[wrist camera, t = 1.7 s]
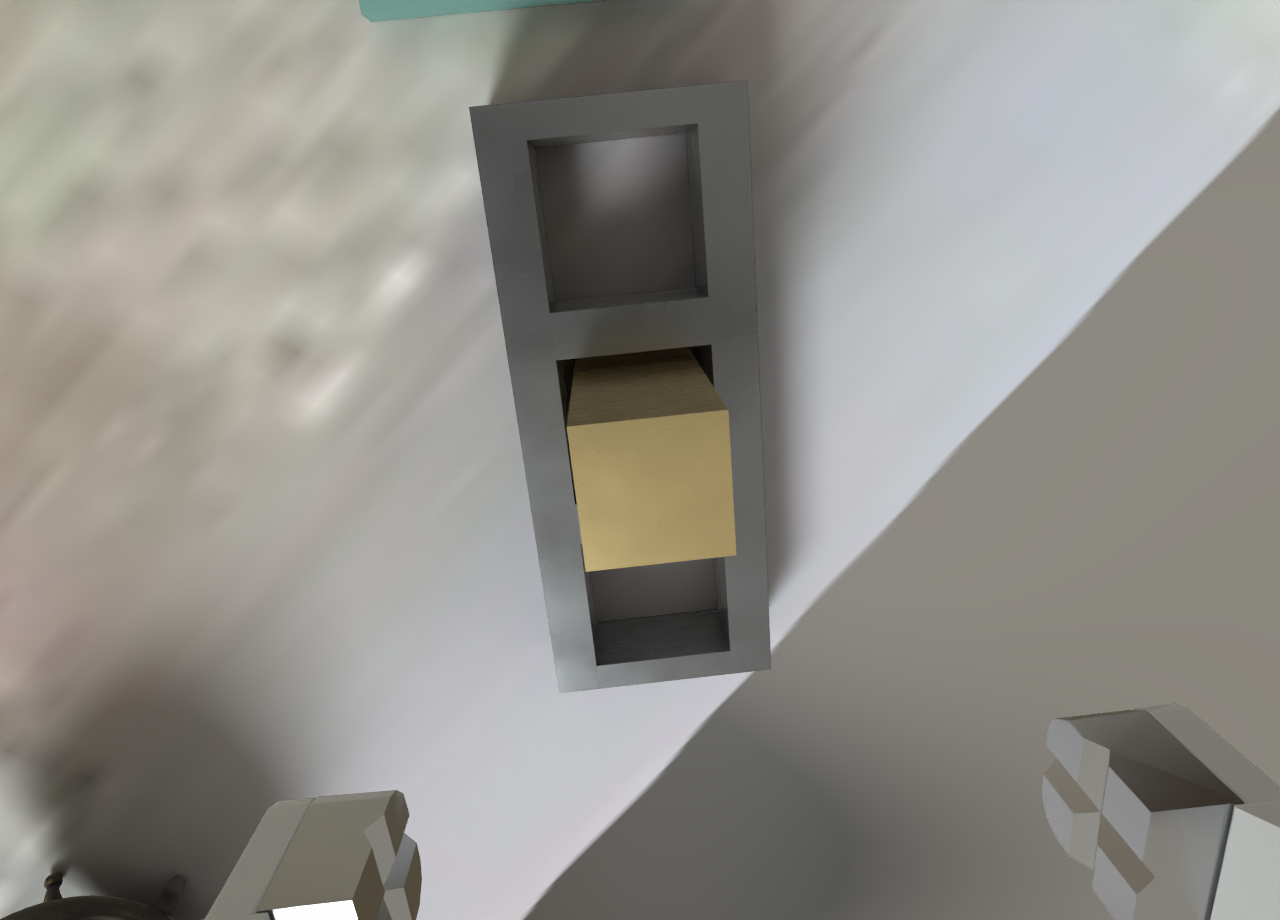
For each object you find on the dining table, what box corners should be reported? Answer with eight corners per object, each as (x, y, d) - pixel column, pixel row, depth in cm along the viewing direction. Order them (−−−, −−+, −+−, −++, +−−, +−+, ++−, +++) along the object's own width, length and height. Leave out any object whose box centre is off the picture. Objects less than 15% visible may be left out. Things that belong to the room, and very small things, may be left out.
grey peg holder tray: (562, 647, 31) (559, 693, 28) (484, 118, 24) (469, 107, 21) (755, 626, 31) (771, 668, 28) (729, 94, 24) (747, 80, 21)
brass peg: (588, 460, 28) (585, 572, 19) (575, 355, 27) (566, 426, 18) (693, 449, 28) (736, 555, 20) (686, 344, 27) (728, 409, 18)
